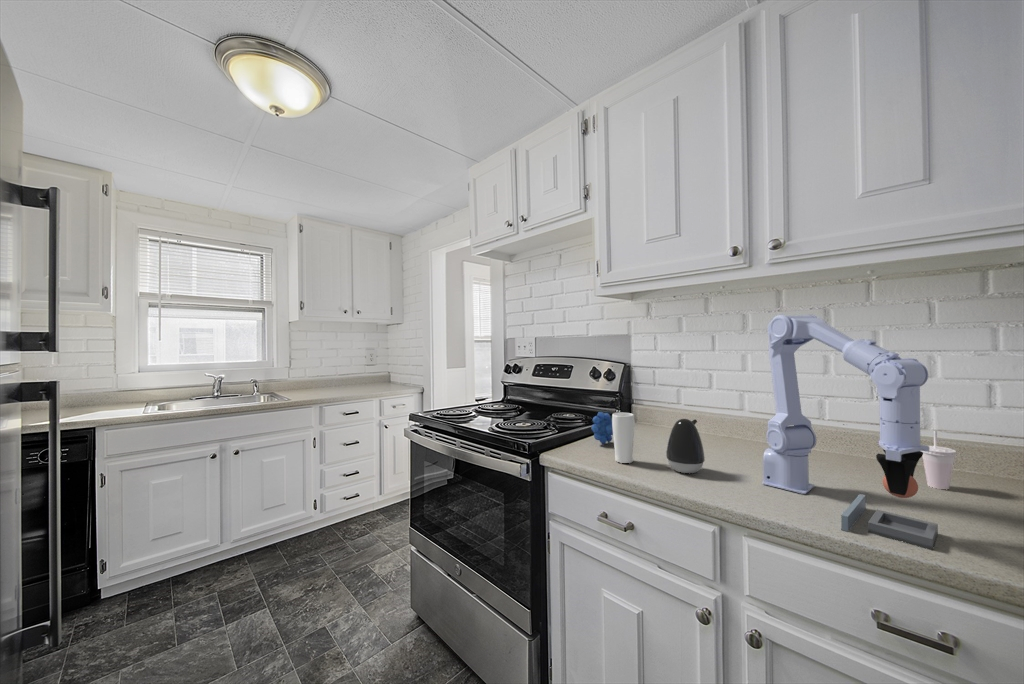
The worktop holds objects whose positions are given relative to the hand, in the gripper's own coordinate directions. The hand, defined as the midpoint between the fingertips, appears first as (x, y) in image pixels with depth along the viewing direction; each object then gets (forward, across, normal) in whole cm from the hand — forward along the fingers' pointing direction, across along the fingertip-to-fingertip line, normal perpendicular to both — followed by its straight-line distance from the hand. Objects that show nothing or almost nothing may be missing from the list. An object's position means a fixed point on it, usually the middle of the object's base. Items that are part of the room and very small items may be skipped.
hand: (900, 489), depth 78 cm
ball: (-1, 0, 0) cm, 1 cm away
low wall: (+8, +1, +7) cm, 11 cm away
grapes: (+8, +10, +79) cm, 80 cm away
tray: (+8, 0, 0) cm, 8 cm away
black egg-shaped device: (+9, +4, +46) cm, 47 cm away
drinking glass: (+9, -2, +63) cm, 63 cm away
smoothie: (+9, +38, -2) cm, 39 cm away
